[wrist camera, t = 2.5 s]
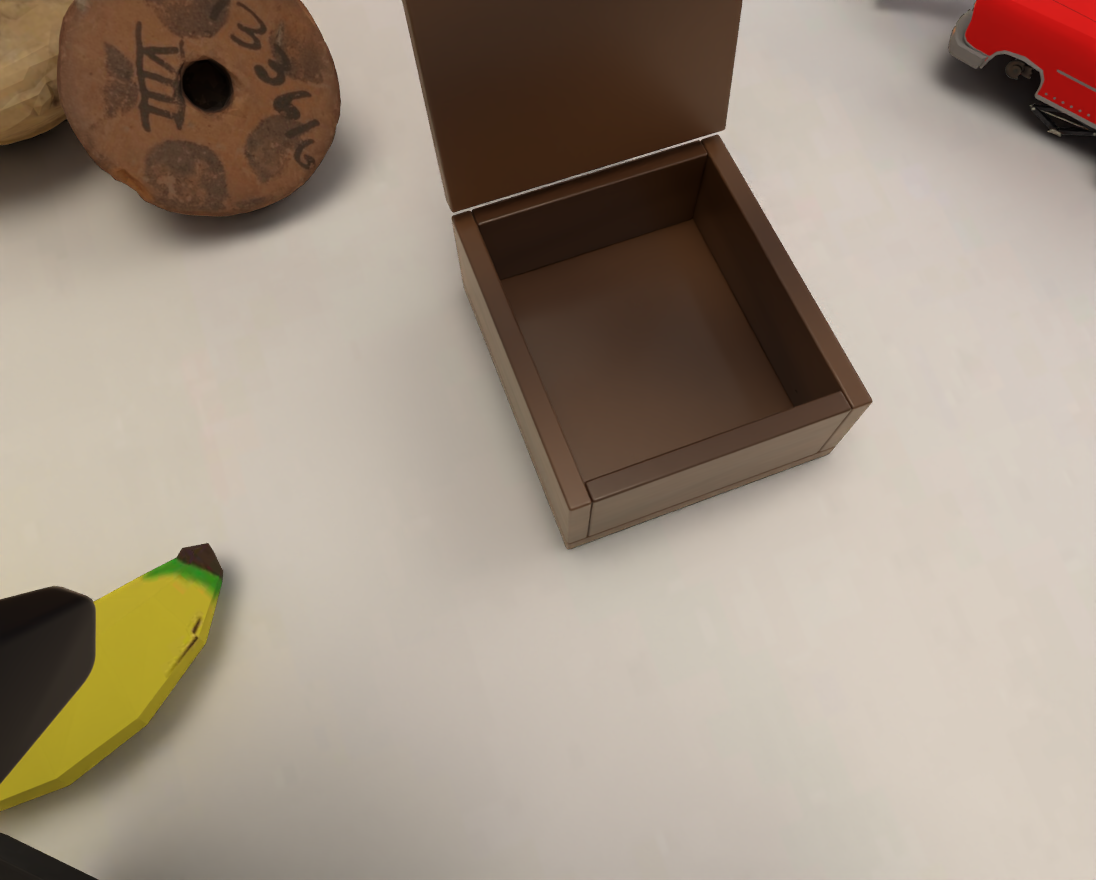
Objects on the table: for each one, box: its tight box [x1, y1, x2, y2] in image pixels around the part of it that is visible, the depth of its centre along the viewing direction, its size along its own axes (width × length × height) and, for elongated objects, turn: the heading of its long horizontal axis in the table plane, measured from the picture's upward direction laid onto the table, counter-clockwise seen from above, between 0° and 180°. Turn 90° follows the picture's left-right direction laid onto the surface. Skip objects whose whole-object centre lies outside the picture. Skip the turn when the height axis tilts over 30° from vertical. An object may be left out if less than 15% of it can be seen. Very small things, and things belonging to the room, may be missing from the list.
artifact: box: [57, 0, 341, 216], centre depth 26 cm, size 8×8×5 cm
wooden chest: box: [452, 135, 872, 549], centre depth 24 cm, size 9×8×4 cm
